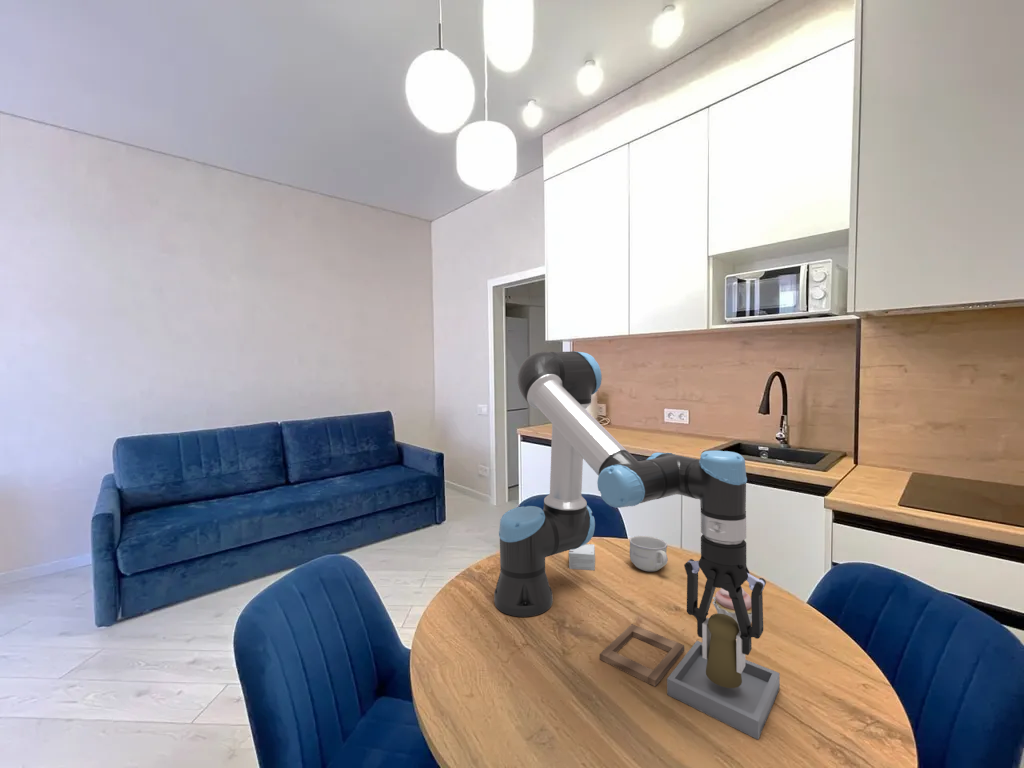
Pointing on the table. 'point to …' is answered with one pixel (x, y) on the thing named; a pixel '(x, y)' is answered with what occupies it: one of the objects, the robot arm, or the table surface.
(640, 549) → the teacup
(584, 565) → the small box
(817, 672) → the table surface
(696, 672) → the tray
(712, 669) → the olive bulb peg
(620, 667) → the socket block
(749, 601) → the cupcake
